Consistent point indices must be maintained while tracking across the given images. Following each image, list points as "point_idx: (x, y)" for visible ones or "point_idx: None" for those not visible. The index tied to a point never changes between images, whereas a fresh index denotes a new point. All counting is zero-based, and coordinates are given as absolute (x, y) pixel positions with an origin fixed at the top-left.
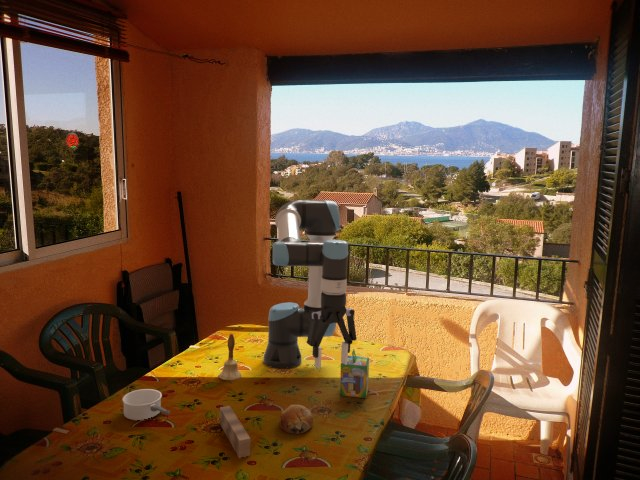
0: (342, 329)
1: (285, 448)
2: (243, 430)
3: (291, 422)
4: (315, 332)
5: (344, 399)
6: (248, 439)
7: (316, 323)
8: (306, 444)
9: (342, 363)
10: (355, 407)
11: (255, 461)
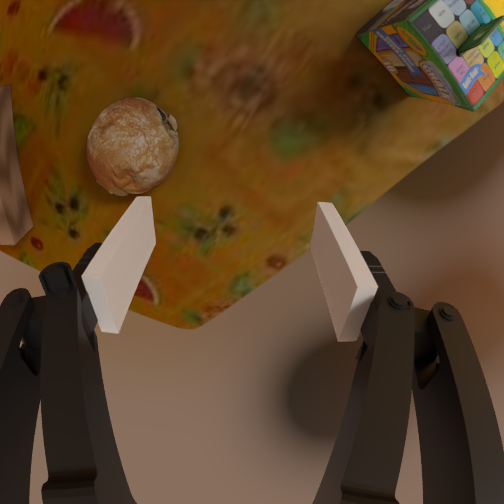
0: (332, 455)
1: (90, 226)
2: (2, 213)
3: (102, 186)
4: (28, 429)
5: (353, 61)
6: (13, 244)
7: (14, 499)
8: None
9: (415, 23)
10: (352, 119)
11: (41, 243)
